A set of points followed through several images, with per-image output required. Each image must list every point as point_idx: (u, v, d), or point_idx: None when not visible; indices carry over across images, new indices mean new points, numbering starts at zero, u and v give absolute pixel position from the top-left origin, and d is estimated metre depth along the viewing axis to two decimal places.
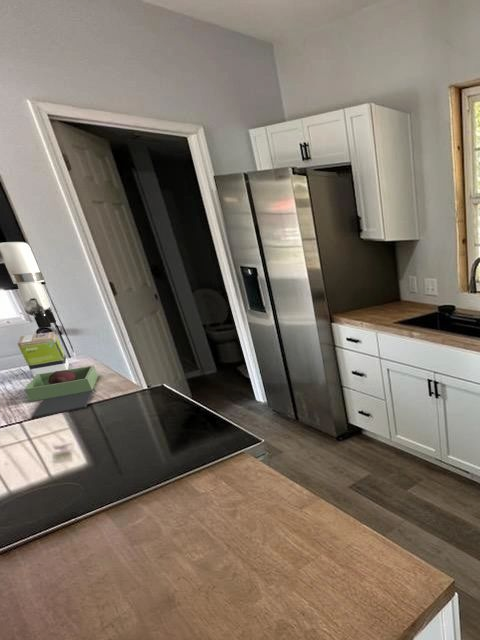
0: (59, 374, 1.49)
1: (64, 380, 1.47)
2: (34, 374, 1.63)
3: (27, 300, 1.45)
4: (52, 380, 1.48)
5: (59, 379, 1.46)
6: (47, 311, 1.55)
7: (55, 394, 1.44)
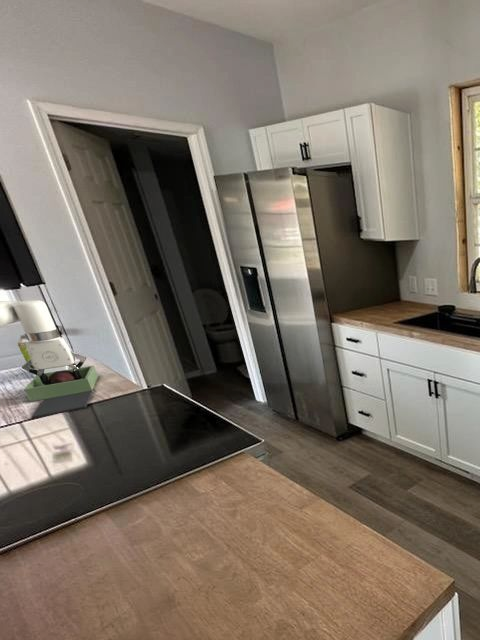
0: (59, 374, 1.49)
1: (64, 380, 1.47)
2: (34, 374, 1.63)
3: (70, 353, 1.50)
4: (52, 380, 1.48)
5: (59, 379, 1.46)
6: (43, 373, 1.48)
7: (55, 394, 1.44)
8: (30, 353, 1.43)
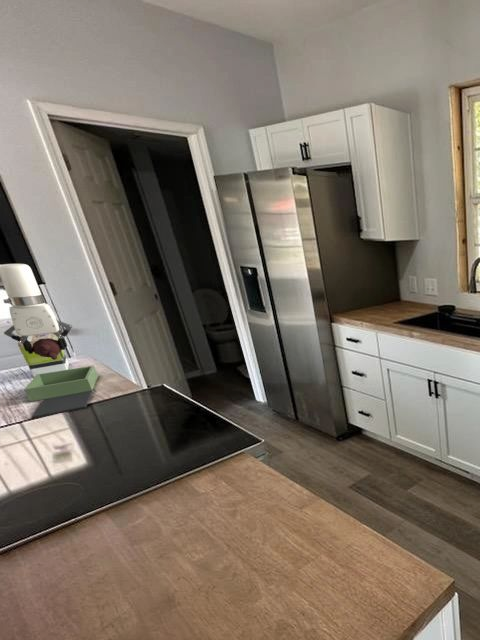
0: (43, 342, 1.44)
1: (48, 347, 1.42)
2: (34, 374, 1.63)
3: (55, 320, 1.45)
4: (36, 347, 1.43)
5: (43, 346, 1.41)
6: (27, 340, 1.43)
7: (55, 394, 1.44)
8: (13, 319, 1.38)
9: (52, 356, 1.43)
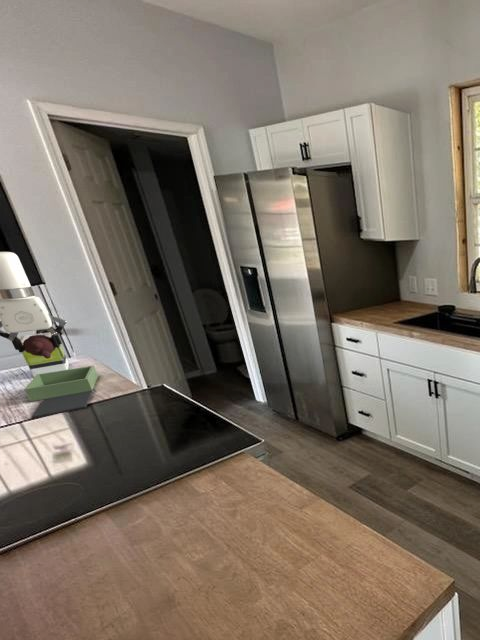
0: (35, 339, 1.30)
1: (40, 345, 1.28)
2: (34, 374, 1.63)
3: (48, 315, 1.31)
4: (27, 345, 1.29)
5: (34, 344, 1.27)
6: (17, 337, 1.29)
7: (55, 394, 1.44)
8: (0, 313, 1.24)
9: (45, 354, 1.29)
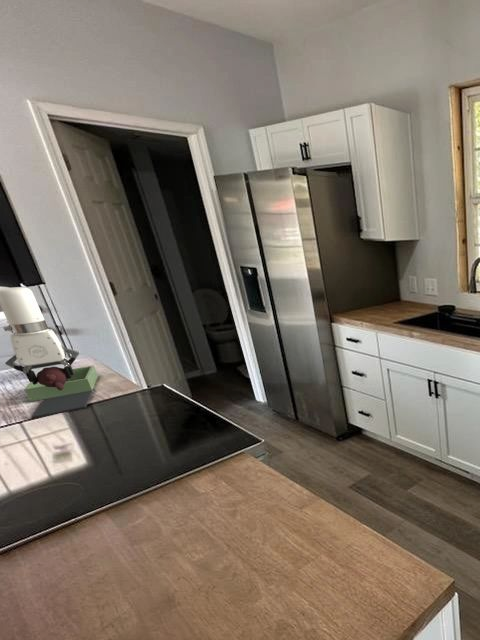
0: (48, 371, 1.32)
1: (54, 377, 1.30)
2: None
3: (61, 347, 1.33)
4: (40, 378, 1.31)
5: (48, 376, 1.29)
6: (31, 370, 1.32)
7: (55, 394, 1.44)
8: (15, 347, 1.26)
9: (58, 386, 1.31)
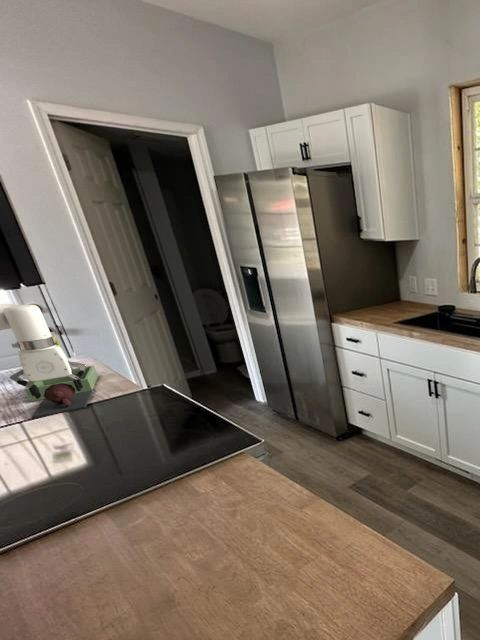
0: (56, 387, 1.34)
1: (61, 394, 1.32)
2: None
3: (67, 363, 1.35)
4: (48, 394, 1.33)
5: (56, 393, 1.31)
6: (33, 384, 1.33)
7: None
8: (22, 364, 1.28)
9: (65, 403, 1.34)
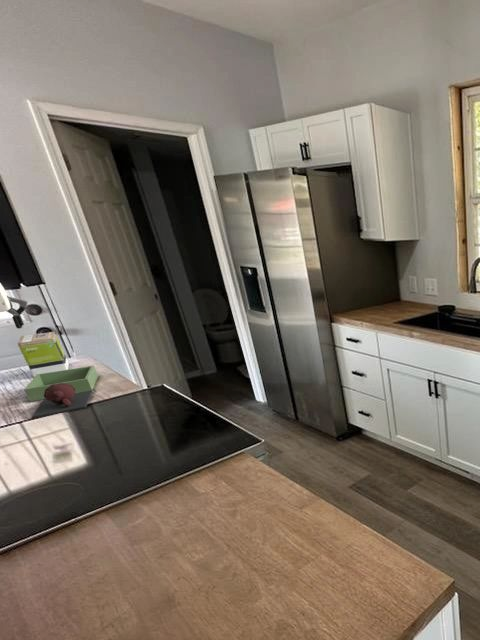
0: (56, 387, 1.34)
1: (61, 394, 1.32)
2: (34, 374, 1.63)
3: (6, 297, 1.31)
4: (48, 394, 1.33)
5: (56, 393, 1.31)
6: None
7: None
8: None
9: (65, 403, 1.34)
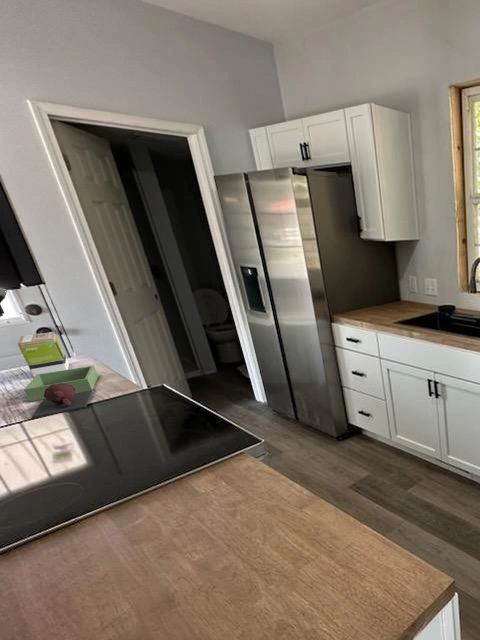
0: (56, 387, 1.34)
1: (61, 394, 1.32)
2: (34, 374, 1.63)
3: None
4: (48, 394, 1.33)
5: (56, 393, 1.31)
6: None
7: None
8: None
9: (65, 403, 1.34)
